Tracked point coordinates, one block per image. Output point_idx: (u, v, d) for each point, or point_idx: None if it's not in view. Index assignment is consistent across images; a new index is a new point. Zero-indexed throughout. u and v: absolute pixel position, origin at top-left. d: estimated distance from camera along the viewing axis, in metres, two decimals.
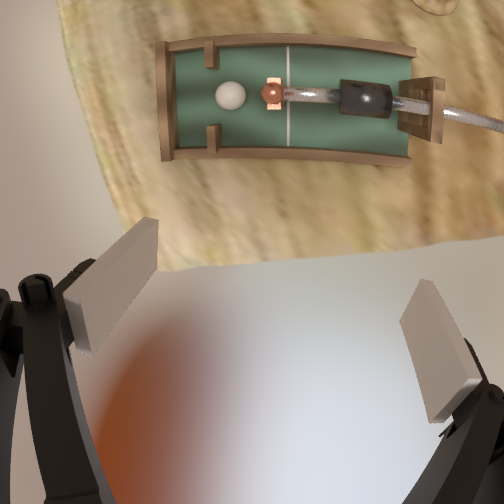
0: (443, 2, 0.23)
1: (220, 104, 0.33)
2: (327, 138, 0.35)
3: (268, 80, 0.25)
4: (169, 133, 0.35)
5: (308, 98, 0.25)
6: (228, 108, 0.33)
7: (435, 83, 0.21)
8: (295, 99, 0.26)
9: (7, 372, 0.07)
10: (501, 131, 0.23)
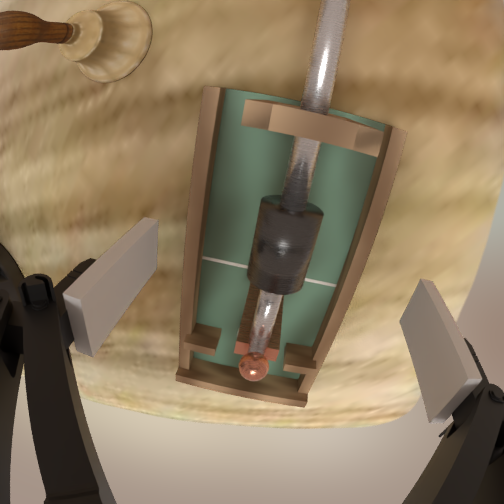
0: (125, 28, 0.19)
1: None
2: (338, 237, 0.26)
3: (237, 352, 0.21)
4: (278, 395, 0.33)
5: (270, 322, 0.20)
6: None
7: (256, 122, 0.13)
8: (269, 334, 0.20)
9: (7, 372, 0.07)
10: None
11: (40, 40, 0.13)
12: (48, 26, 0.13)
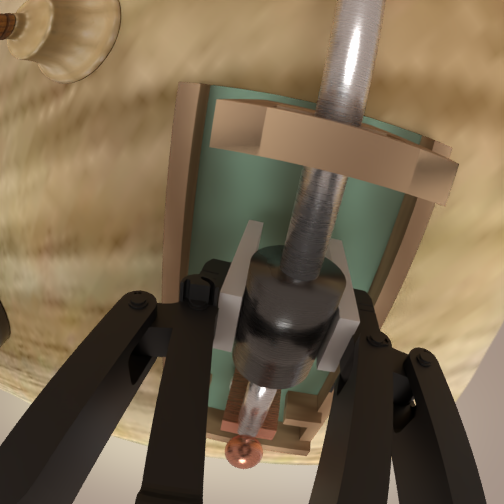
0: (87, 14, 0.14)
1: None
2: (356, 279, 0.21)
3: (224, 429, 0.16)
4: (277, 444, 0.27)
5: (264, 407, 0.14)
6: None
7: (236, 142, 0.07)
8: (263, 417, 0.14)
9: (128, 379, 0.08)
10: None
11: None
12: None
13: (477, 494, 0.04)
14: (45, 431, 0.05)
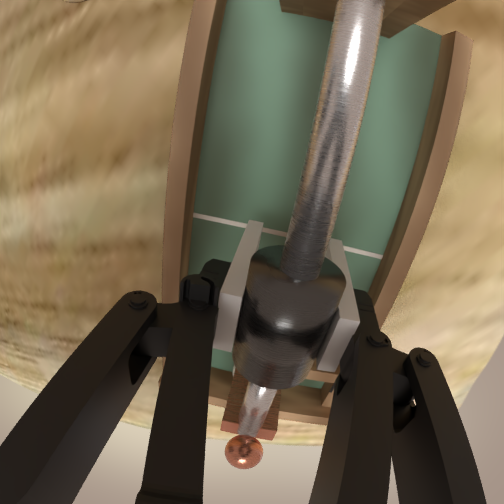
0: None
1: None
2: (388, 184, 0.17)
3: (224, 429, 0.16)
4: (295, 410, 0.24)
5: (264, 407, 0.14)
6: None
7: None
8: (263, 417, 0.14)
9: (128, 379, 0.08)
10: None
11: None
12: None
13: (477, 494, 0.04)
14: (45, 431, 0.05)
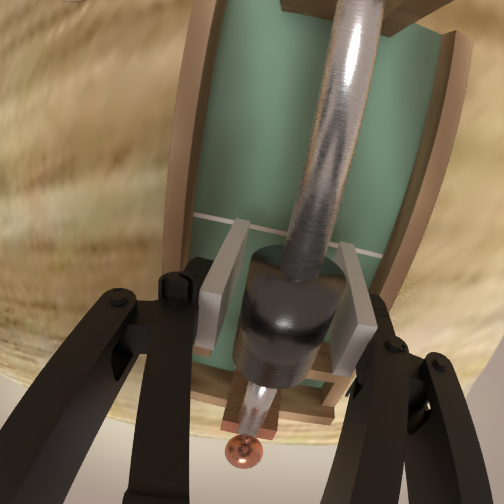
0: None
1: None
2: (388, 184, 0.17)
3: (224, 429, 0.16)
4: (295, 410, 0.24)
5: (264, 407, 0.14)
6: None
7: None
8: (263, 417, 0.14)
9: (112, 376, 0.08)
10: None
11: None
12: None
13: (486, 497, 0.04)
14: (32, 429, 0.05)
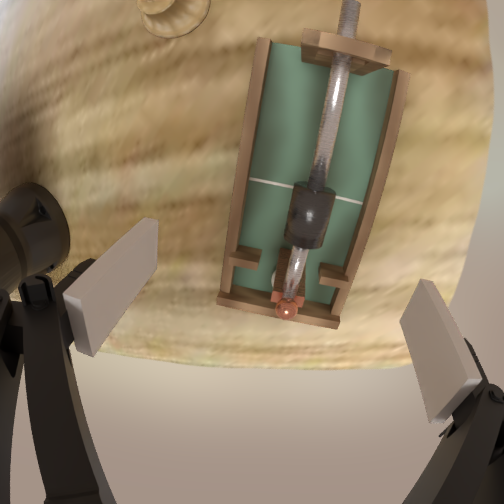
0: None
1: None
2: (363, 159, 0.31)
3: (273, 300, 0.29)
4: (313, 315, 0.37)
5: (299, 273, 0.27)
6: None
7: (310, 41, 0.17)
8: (297, 284, 0.28)
9: (7, 372, 0.07)
10: (355, 25, 0.17)
11: None
12: None
13: None
14: None
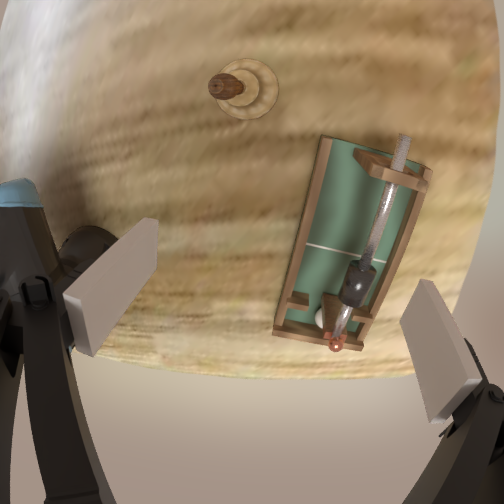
0: (265, 85, 0.34)
1: None
2: (389, 231, 0.41)
3: (325, 337, 0.40)
4: None
5: (345, 321, 0.38)
6: None
7: (376, 175, 0.28)
8: (344, 327, 0.38)
9: (7, 372, 0.07)
10: (406, 156, 0.28)
11: None
12: None
13: None
14: None
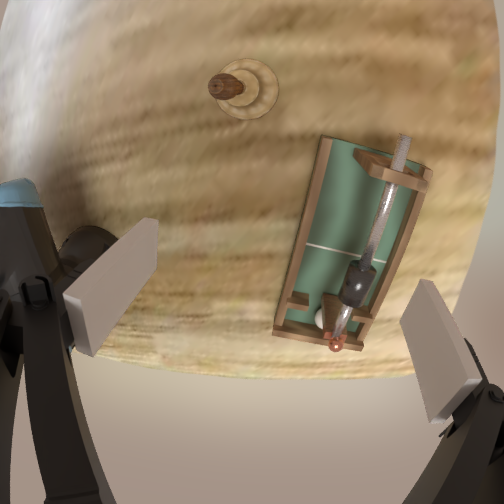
0: (265, 85, 0.34)
1: None
2: (389, 231, 0.41)
3: (325, 337, 0.40)
4: None
5: (345, 321, 0.38)
6: None
7: (376, 175, 0.28)
8: (344, 327, 0.38)
9: (7, 372, 0.07)
10: (406, 156, 0.28)
11: None
12: None
13: None
14: None
